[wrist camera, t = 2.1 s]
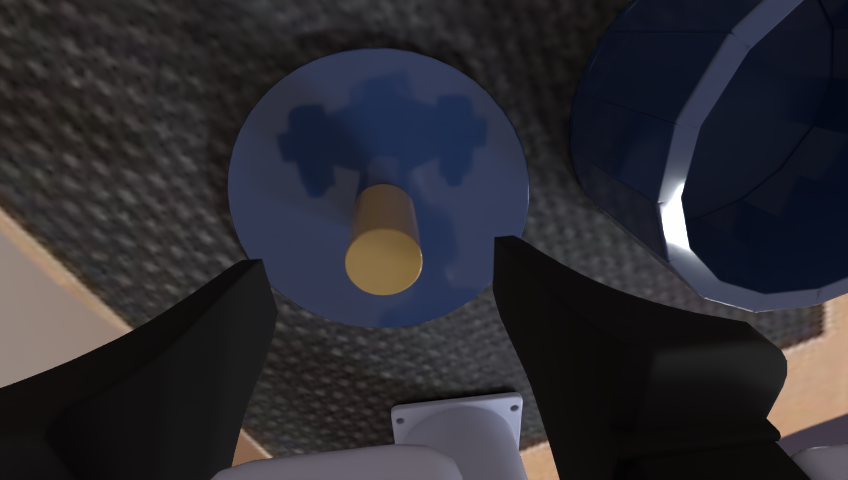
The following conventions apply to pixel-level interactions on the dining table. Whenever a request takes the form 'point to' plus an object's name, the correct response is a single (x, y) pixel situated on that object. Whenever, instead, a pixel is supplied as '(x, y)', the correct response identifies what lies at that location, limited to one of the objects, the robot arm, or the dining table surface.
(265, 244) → the lid
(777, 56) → the open pot
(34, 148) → the dining table surface
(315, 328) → the dining table surface
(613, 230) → the dining table surface
